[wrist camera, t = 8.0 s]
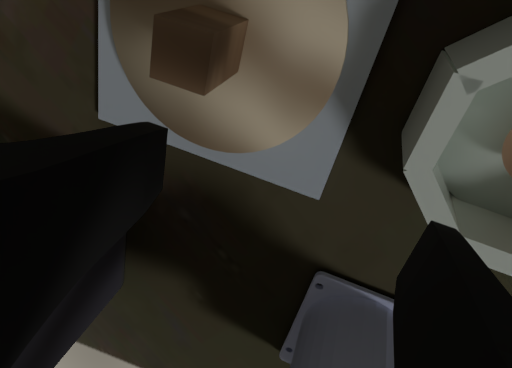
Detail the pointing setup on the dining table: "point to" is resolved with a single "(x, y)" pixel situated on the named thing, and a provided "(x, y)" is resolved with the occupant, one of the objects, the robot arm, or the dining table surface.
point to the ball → (507, 153)
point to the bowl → (466, 143)
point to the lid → (232, 65)
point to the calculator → (76, 310)
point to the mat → (291, 151)
